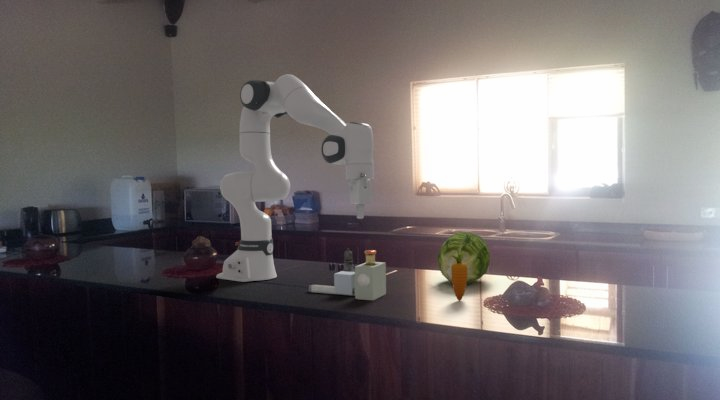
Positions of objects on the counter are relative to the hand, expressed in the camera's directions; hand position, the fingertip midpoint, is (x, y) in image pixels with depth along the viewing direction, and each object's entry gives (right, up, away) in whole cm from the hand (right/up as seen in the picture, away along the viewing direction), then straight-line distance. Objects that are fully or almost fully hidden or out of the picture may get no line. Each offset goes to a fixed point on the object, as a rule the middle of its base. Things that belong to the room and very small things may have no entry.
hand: (360, 218), depth 185 cm
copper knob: (+3, -16, 0) cm, 16 cm away
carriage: (-4, -24, +3) cm, 25 cm away
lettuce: (+35, -23, +18) cm, 46 cm away
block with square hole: (+3, -24, 0) cm, 24 cm away
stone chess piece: (-4, -23, +24) cm, 34 cm away
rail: (-7, -24, +5) cm, 26 cm away
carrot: (+29, -24, -8) cm, 39 cm away
